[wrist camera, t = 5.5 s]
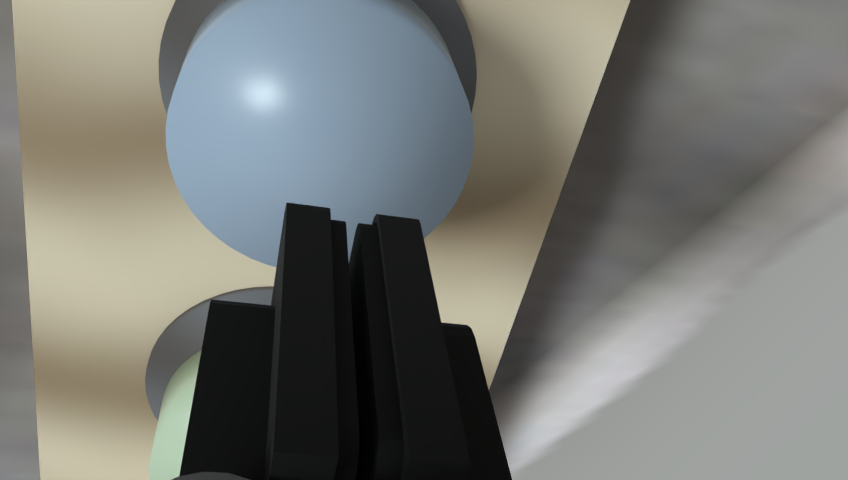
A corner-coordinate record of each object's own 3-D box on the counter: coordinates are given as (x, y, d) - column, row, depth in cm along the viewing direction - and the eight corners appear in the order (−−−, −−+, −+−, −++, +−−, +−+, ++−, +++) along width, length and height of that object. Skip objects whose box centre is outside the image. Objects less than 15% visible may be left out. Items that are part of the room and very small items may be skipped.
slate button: (189, -62, 13) (173, -31, 11) (488, -5, 14) (509, 31, 12) (173, 203, 15) (158, 257, 14) (425, 233, 16) (436, 286, 15)
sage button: (167, 322, 17) (153, 382, 15) (396, 342, 18) (403, 400, 16) (157, 477, 20) (144, 541, 18) (358, 487, 21) (361, 548, 19)
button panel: (41, -264, 14) (-8, -257, 12) (623, -126, 16) (670, -99, 14) (70, 586, 27) (49, 662, 25) (386, 592, 29) (392, 663, 27)
